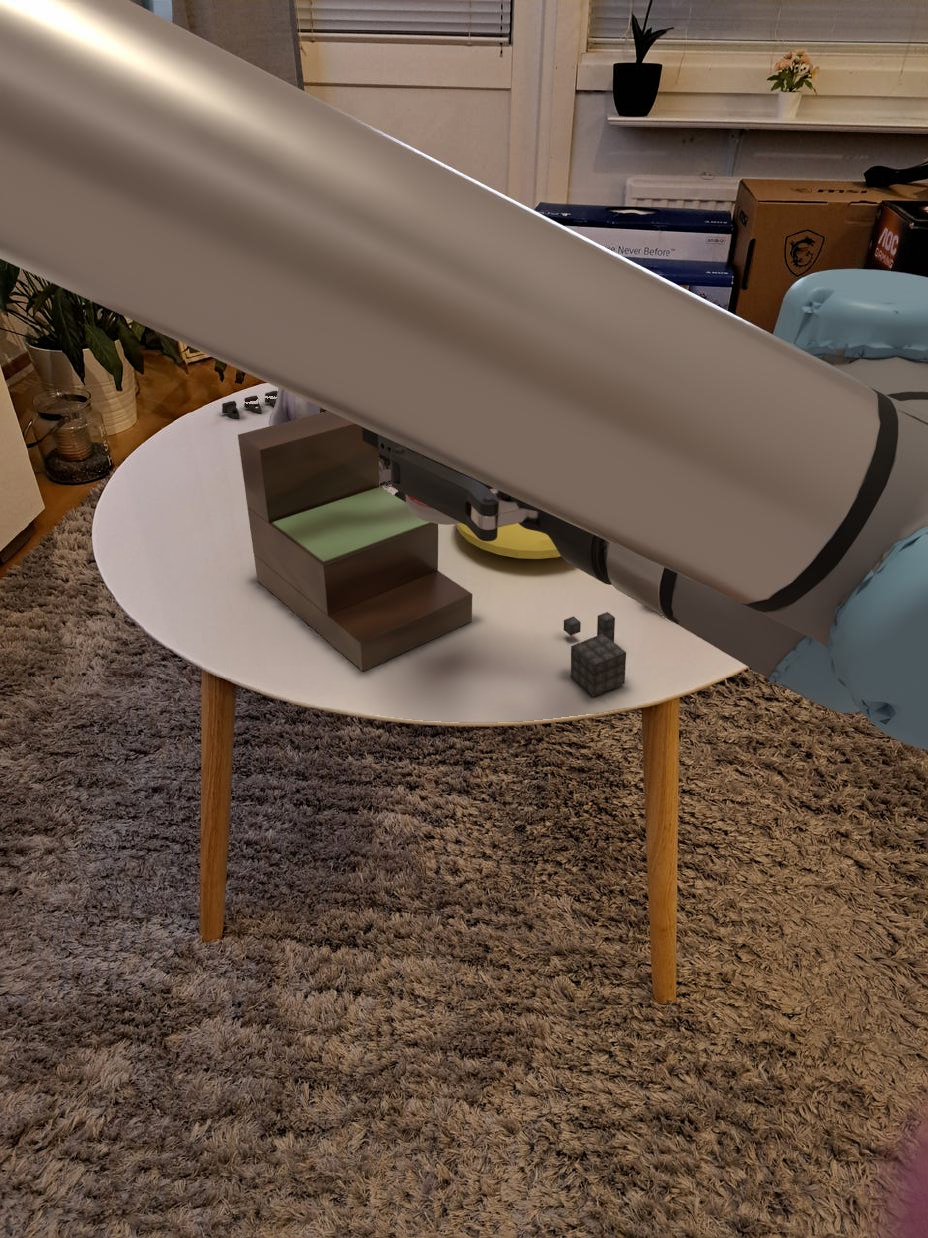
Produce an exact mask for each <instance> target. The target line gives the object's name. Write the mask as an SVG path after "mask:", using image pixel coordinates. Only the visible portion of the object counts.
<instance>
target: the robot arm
mask: <svg viewBox="0 0 928 1238" xmlns="http://www.w3.org/2000/svg"><path fill="white" fill-rule="evenodd" d="M0 260H2V261H4V262H6V263H9V264H12V265H13V266H15V267H17V268H20V269H22V270H24V271H26V272H29V273H30V274H31V275H34V276H37V277H38V278H41V279H43V280H46V281H47V282H50V283H52V284H53V285H56V286H58V287H60V288H62V289H64V290H67V291H69V292H71V293H73V294H76V295H78V296H79V297H82V298H84V299H86V300H88V301H90V302H93V303H94V304H97V305H99V306H101V307H103V308H105V309H108V310H110V311H112V312H114V313H116V314H119V315H121V316H123V317H125V318H127V319H129V320H132V321H134V322H136V323H138V324H140V325H142V326H144V327H146V328H149V329H150V330H153V331H155V332H157V333H160V334H161V335H163V336H166V337H167V338H170V339H172V340H175V341H177V342H179V343H181V344H183V345H185V346H187V347H189V348H192V349H193V350H196V351H198V352H200V353H202V354H204V355H206V356H209V357H210V358H213V359H215V360H217V361H220V362H222V363H224V364H226V365H228V366H231V367H233V368H234V369H237V370H239V371H241V372H243V373H246V374H248V375H250V376H251V377H254V378H256V379H258V380H261V381H263V382H265V383H267V384H269V385H272V386H274V387H275V388H277V389H278V388H280V389H282V390H284V391H286V392H288V393H291V394H293V395H295V396H297V397H299V398H301V399H303V400H306V401H308V402H310V403H312V404H314V405H316V406H319V407H320V409H322V408H323V409H325V410H327V411H329V412H331V413H334V414H336V415H338V416H340V417H342V418H344V419H347V420H349V421H351V422H353V423H355V424H357V425H359V426H362V435H363V441H365V442H367V443H368V444H370V445H372V446H374V447H376V448H377V449H378V451H379V453H380V454H381V455H383V456H385V457H387V458H389V459H390V461H391V480H390V484H391V485H390V486H391V488H393V489H394V490H396V491H397V492H398V491H400V492H402V493H404V494H406V495H408V496H410V497H412V498H414V499H416V500H418V501H420V502H422V503H424V504H426V505H428V506H429V507H431V508H433V509H435V510H437V511H439V512H441V513H443V514H445V515H447V516H449V517H451V518H453V519H455V520H457V521H459V522H461V523H463V524H464V525H466V526H467V527H468V528H469V529H470V530H471V531H472V532H473V533H474V534H475V535H476V536H477V537H478V538H479V539H480V540H482V541H493V540H495V539H497V535H498V527H502V526H507V525H512V524H516V523H519V525H521V526H522V527H524V528H526V529H529V530H534V531H538V532H541V533H544V534H547V535H548V536H549V538H550V539H551V540H552V542H553V543H554V545H555V547H556V548H557V550H558V552H559V554H560V555H561V556H560V557H561V558H562V559H563V560H564V561H565V562H566V563H567V564H570V565H571V566H573V567H575V568H577V569H578V570H580V571H582V572H583V573H585V574H587V575H589V576H591V577H593V578H594V579H596V580H598V581H599V582H601V583H603V584H605V585H609V586H613V587H614V589H615V590H616V591H618V592H619V593H621V594H623V595H625V596H627V597H629V598H631V599H632V600H634V601H635V602H638V603H640V604H641V605H643V606H645V607H646V608H648V609H650V610H652V611H654V612H656V613H658V614H659V615H661V616H663V617H665V618H667V619H668V620H669V621H670V622H672V623H674V624H675V625H677V626H679V627H680V628H683V629H685V631H688V632H689V633H691V634H693V635H694V636H696V637H697V638H699V639H701V640H703V641H704V642H706V643H708V644H709V645H711V646H712V647H714V648H716V649H717V650H719V651H721V652H722V653H724V654H725V655H728V656H729V657H731V658H733V659H734V660H736V661H738V662H740V663H741V664H743V665H744V666H746V667H748V668H750V669H751V670H753V671H755V672H756V673H758V674H759V675H761V676H763V677H765V678H766V679H767V680H768V682H770V683H771V684H773V685H775V686H781V687H783V688H785V689H787V690H788V691H790V692H793V693H794V694H797V695H798V696H800V697H803V698H805V699H807V700H808V701H810V702H813V703H815V704H817V705H820V706H822V707H824V708H827V709H829V710H830V711H833V712H837V713H840V714H857V713H861V714H862V715H863V716H864V717H865V718H866V719H867V720H868V721H869V722H870V723H871V724H872V725H873V726H874V727H876V728H877V730H879V731H880V732H881V733H883V734H885V735H886V736H887V737H890V738H891V739H893V740H896V741H897V742H901V743H903V744H905V745H908V746H911V747H913V748H916V749H921V750H924V751H928V277H927V276H922V275H917V274H912V273H907V272H900V271H891V270H882V269H867V268H866V269H865V268H863V269H862V268H845V269H844V268H841V269H840V268H839V269H828V270H822V271H818V272H817V271H816V272H814V273H810V274H808V275H806V276H804V277H801V278H800V279H798V280H797V281H795V282H794V283H793V284H792V285H791V286H790V288H789V289H788V290H787V291H786V292H785V295H784V296H783V300H782V303H781V306H780V309H779V314H778V317H777V320H776V322H775V327H774V330H773V332H772V333H771V332H769V331H767V330H764V329H762V328H761V327H759V326H757V325H755V324H753V323H752V322H749V321H747V320H745V319H743V318H742V317H739V316H737V315H735V314H734V313H732V312H730V311H728V310H726V309H724V308H722V307H721V306H718V305H717V304H715V303H713V302H710V301H709V300H707V299H705V298H703V297H702V296H699V295H697V294H696V293H693V292H691V291H689V290H688V289H686V288H684V287H682V286H680V285H678V284H677V283H674V282H673V281H670V280H668V279H666V278H664V277H662V276H661V275H660V274H657V273H655V272H653V271H651V270H650V269H647V268H646V267H643V266H642V265H640V264H638V263H636V262H634V261H632V260H630V259H628V258H626V257H624V256H622V255H621V254H619V253H616V252H614V251H613V250H611V249H608V248H606V247H605V246H603V245H602V244H599V243H598V242H596V241H594V240H591V239H590V238H587V237H586V236H584V235H582V234H580V233H578V232H576V231H574V230H572V229H571V228H568V227H567V226H564V225H563V224H561V223H558V222H557V221H555V220H553V219H551V218H549V217H547V216H545V215H543V214H542V213H540V212H538V211H536V210H534V209H531V208H530V207H527V206H526V205H524V204H522V203H520V202H518V201H516V200H515V199H513V198H511V197H508V196H507V195H505V194H503V193H501V192H499V191H498V190H495V189H493V188H491V187H489V186H487V185H485V184H483V183H482V182H479V181H478V180H476V179H474V178H472V177H471V176H468V175H466V174H465V173H462V172H461V171H458V170H457V169H454V168H453V167H451V166H449V165H447V164H445V163H443V162H442V161H439V160H437V159H436V158H434V157H431V156H430V155H428V154H425V153H424V152H422V151H421V150H419V149H416V148H414V147H412V146H411V145H408V144H406V143H405V142H403V141H401V140H399V139H397V138H395V137H393V136H391V135H389V134H387V133H386V132H383V131H382V130H380V129H378V128H376V127H374V126H372V125H370V124H368V123H366V122H364V121H362V120H360V119H359V118H357V117H354V116H353V115H351V114H349V113H347V112H345V111H343V110H341V109H340V108H337V107H336V106H333V105H331V104H330V103H328V102H325V101H324V100H323V99H320V98H319V97H316V96H314V95H313V94H310V93H308V92H306V91H304V90H303V89H301V88H299V87H297V86H295V85H293V84H291V83H290V82H288V81H286V80H283V79H281V78H280V77H278V76H276V75H274V74H272V73H270V72H268V71H266V70H264V69H262V68H260V67H258V66H256V65H255V64H253V63H250V62H248V61H246V60H245V59H243V58H241V57H239V56H237V55H236V54H234V53H232V52H230V51H227V50H226V49H224V48H221V47H220V46H218V45H216V44H214V43H212V42H210V41H209V40H206V39H204V38H203V37H200V36H199V35H197V34H195V33H193V32H191V31H190V30H187V29H186V28H183V27H182V26H179V25H178V24H175V23H174V22H173V1H172V0H0Z"/></svg>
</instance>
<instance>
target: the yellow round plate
mask: <svg viewBox="0 0 928 1238" xmlns="http://www.w3.org/2000/svg"><path fill="white" fill-rule="evenodd" d="M455 526H456V528H457V530H458V532H459V534H460V535H461V536H462V537H464V539H465V540H466V541H467V542H469V543H470V544H472V545H474V546H476V547H477V548H480V549H481V550H484V551H487V552H489V553H493V554H496V555H499V556H505V557H509V558H515V559H528V560H529V559H530V560H531V559H532V560H542V559H552V558H559V557H562V556H561V555H560V554H559V552H558V550H557V548H556V547H555V545H554V543H553V542H552V540H551V539H550V538H549V536H548V535H547V534H544V533H541V532H538V531H534V530H529V529H526V528H524V527H522V526H521V525H519V523H516V524H512V525H507V526H502V527H498V535H497V539H495V540H493V541H482V540H480V539H479V538H478V537H477V536H476V535H475V534H474V533H473V532H472V531H471V530H470V529H469V528H468V527H467V526H466V525H464V524H463V523H459V524H455Z"/></svg>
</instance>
